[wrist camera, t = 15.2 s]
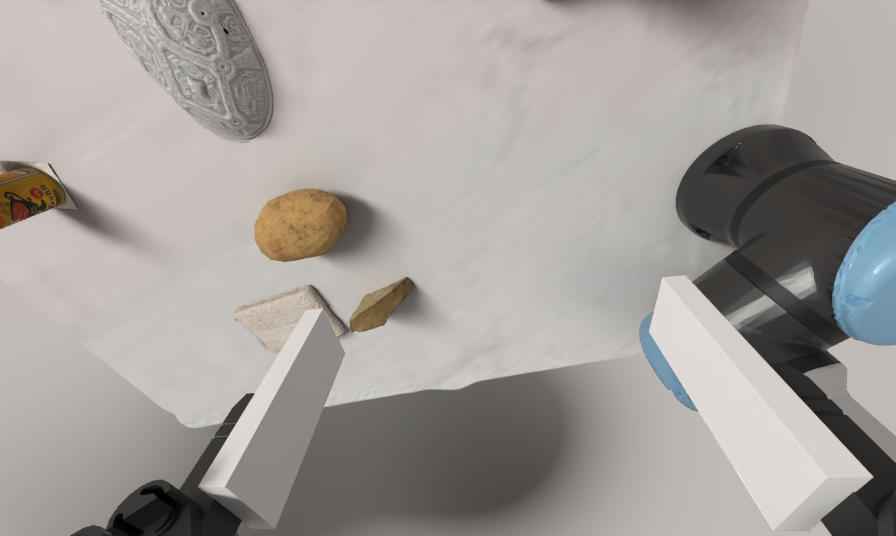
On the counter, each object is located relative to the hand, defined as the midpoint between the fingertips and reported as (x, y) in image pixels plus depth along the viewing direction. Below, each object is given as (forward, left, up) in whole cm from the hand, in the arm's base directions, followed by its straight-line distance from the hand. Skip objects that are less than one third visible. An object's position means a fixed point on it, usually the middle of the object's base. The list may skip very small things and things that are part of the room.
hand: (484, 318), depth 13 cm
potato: (+25, +8, -35) cm, 44 cm away
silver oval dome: (+31, -15, -36) cm, 50 cm away
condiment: (+66, -2, -35) cm, 75 cm away
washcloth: (+38, +28, -36) cm, 60 cm away
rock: (+18, +25, -35) cm, 47 cm away
